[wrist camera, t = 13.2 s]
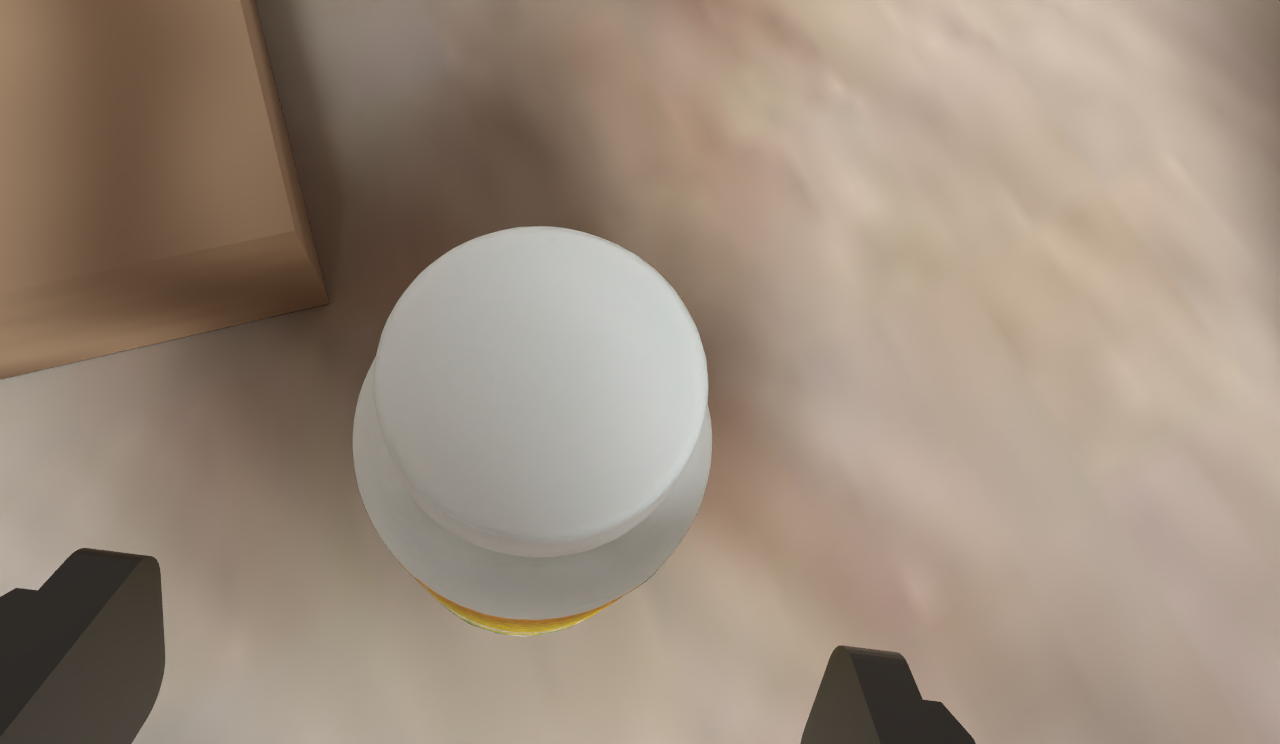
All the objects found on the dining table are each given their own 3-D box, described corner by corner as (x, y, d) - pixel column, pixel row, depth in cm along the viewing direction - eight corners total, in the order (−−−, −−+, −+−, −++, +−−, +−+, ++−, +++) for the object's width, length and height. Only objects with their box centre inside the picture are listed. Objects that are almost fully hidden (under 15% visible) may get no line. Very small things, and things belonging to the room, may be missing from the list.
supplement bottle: (429, 380, 20) (368, 135, 11) (659, 415, 20) (778, 208, 12) (377, 623, 18) (253, 566, 9) (632, 655, 19) (751, 630, 10)
